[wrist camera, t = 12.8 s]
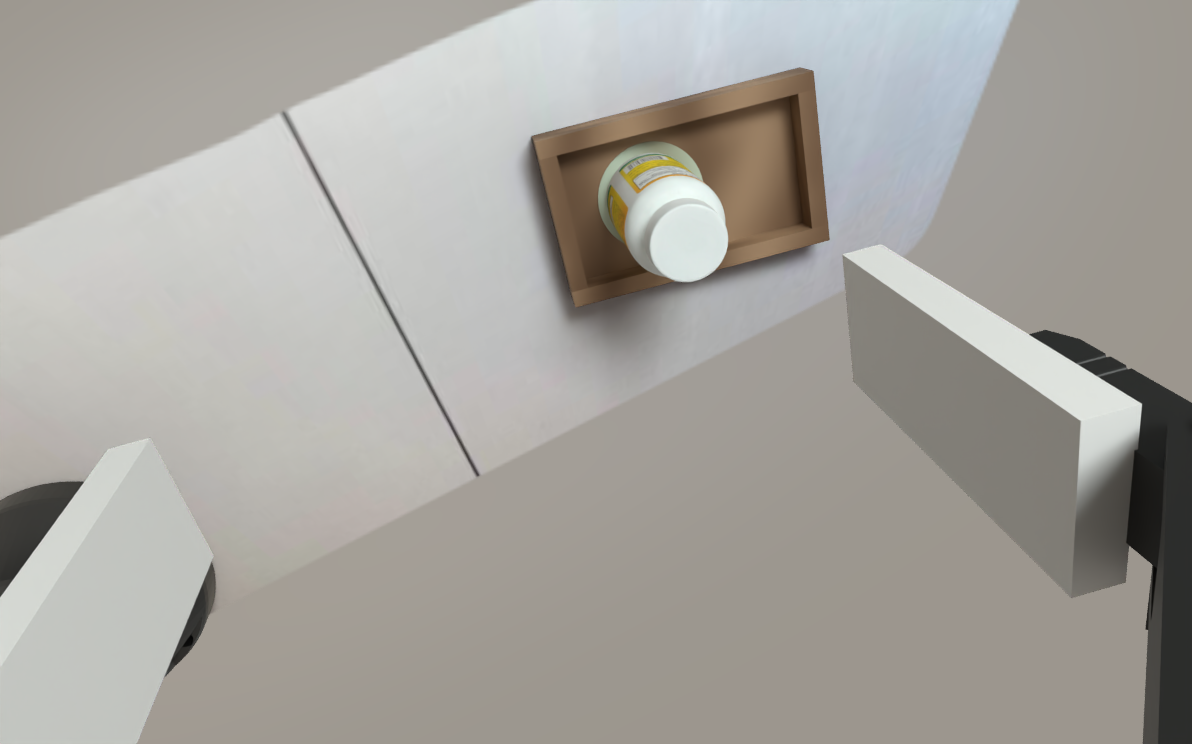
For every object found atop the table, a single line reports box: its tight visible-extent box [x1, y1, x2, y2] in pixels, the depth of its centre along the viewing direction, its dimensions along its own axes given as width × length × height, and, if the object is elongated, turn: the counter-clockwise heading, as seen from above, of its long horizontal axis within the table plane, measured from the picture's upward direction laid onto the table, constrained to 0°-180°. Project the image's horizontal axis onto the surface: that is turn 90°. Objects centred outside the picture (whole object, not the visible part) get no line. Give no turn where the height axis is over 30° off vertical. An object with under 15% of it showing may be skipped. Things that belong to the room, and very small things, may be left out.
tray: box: [532, 68, 829, 307], centre depth 49 cm, size 16×10×2 cm, turn 102°
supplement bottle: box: [606, 153, 728, 282], centre depth 45 cm, size 5×5×10 cm
